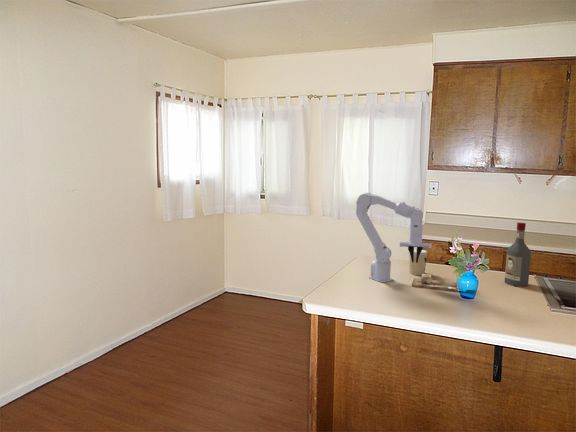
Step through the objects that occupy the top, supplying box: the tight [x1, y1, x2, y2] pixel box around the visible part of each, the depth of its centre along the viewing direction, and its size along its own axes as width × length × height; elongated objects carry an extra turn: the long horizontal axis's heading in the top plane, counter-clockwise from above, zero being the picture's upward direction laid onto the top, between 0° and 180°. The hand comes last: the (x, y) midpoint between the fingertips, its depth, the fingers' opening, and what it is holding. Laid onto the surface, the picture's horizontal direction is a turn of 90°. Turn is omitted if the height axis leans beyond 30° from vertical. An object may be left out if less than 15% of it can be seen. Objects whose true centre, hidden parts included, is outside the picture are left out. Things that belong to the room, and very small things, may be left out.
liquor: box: [504, 222, 532, 287], centre depth 211 cm, size 9×9×30 cm
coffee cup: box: [408, 248, 428, 276], centre depth 230 cm, size 9×9×12 cm
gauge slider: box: [420, 273, 432, 284], centre depth 208 cm, size 4×8×3 cm, turn 159°
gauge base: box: [411, 277, 459, 293], centre depth 207 cm, size 24×12×5 cm, turn 69°
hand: (414, 262), depth 210 cm, fingers closed
